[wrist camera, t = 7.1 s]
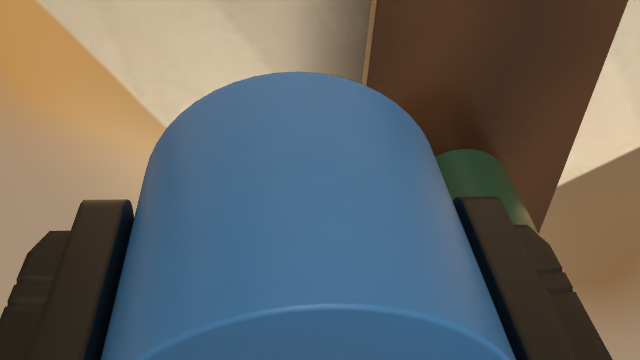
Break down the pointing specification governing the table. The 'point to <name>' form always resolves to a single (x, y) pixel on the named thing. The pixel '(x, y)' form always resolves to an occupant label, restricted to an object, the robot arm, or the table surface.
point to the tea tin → (482, 181)
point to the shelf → (494, 77)
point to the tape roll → (299, 236)
